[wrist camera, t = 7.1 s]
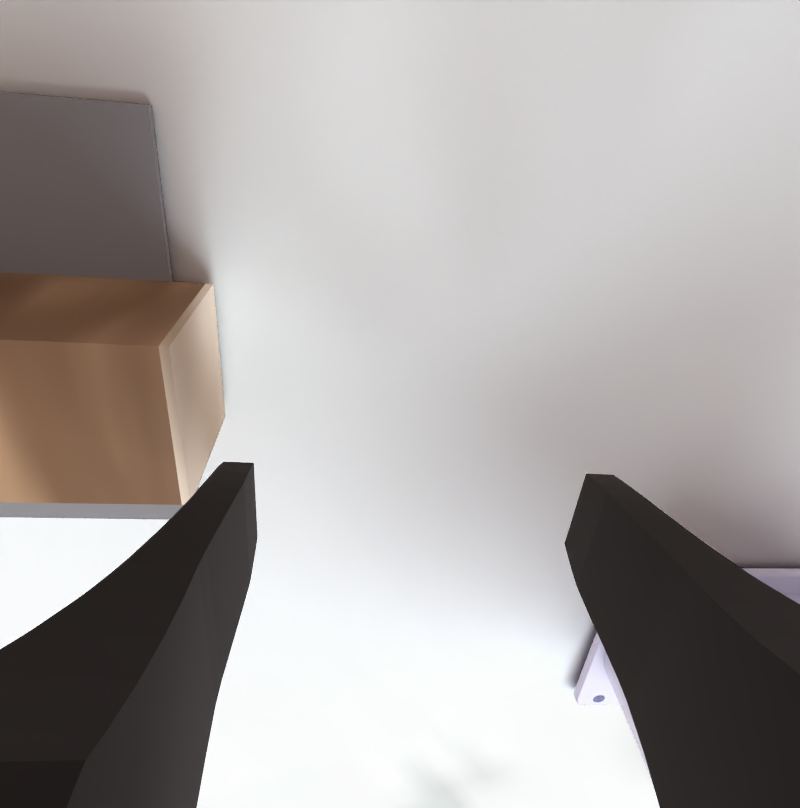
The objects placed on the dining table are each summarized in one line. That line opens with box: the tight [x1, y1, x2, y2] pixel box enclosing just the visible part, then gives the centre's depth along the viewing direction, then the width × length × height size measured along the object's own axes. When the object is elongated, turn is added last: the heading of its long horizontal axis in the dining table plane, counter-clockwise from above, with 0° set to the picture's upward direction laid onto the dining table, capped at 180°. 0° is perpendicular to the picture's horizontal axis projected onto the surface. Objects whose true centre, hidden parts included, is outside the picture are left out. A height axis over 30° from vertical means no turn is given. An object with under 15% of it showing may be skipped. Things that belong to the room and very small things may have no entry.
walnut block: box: [0, 272, 225, 505], centre depth 13 cm, size 4×4×7 cm
